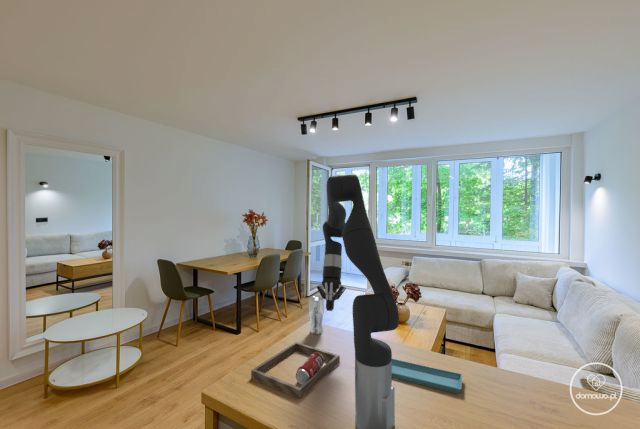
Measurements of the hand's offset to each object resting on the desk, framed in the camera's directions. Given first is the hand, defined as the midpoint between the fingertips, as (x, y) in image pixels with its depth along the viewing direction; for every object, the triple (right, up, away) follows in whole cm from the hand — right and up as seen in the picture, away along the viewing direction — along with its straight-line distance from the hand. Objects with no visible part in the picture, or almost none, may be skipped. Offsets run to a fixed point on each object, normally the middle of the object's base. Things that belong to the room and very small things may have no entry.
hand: (329, 310), depth 112 cm
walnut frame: (-12, -16, -14) cm, 24 cm away
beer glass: (-5, -16, +18) cm, 25 cm away
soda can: (-5, -13, -12) cm, 18 cm away
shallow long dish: (+28, -16, -18) cm, 37 cm away
